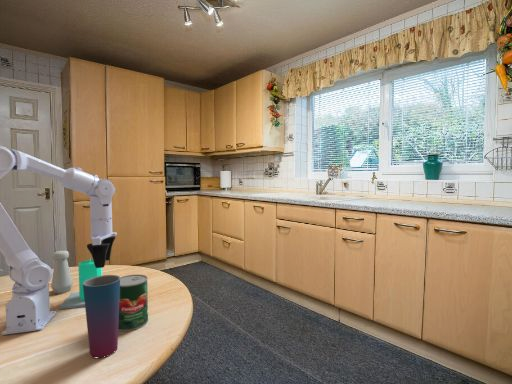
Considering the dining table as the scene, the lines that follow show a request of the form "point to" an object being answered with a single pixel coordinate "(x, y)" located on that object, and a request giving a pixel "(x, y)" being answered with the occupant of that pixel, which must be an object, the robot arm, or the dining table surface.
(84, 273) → the candle
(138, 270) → the dining table surface
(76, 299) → the mat
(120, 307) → the canned tomato
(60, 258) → the salt shaker
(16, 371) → the dining table surface
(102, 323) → the cup
